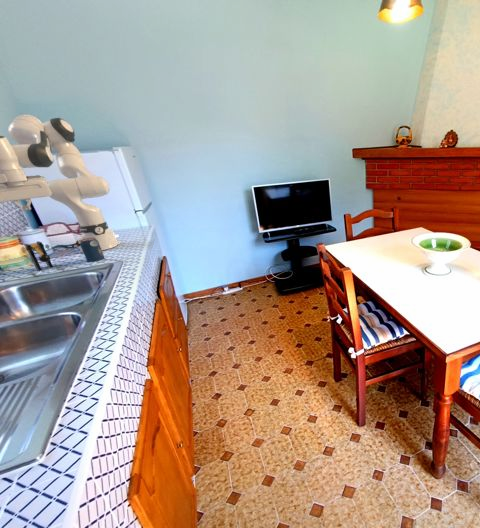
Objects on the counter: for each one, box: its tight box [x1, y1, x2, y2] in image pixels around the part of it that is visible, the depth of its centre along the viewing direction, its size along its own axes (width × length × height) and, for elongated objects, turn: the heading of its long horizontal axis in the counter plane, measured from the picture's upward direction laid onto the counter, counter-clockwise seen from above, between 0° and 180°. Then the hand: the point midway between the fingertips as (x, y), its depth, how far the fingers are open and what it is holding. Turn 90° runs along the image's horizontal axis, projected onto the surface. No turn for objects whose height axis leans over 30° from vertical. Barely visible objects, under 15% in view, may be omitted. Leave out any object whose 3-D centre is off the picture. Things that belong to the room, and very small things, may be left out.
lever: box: [28, 242, 51, 263], centre depth 136 cm, size 13×4×4 cm, turn 57°
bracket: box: [23, 241, 54, 272], centre depth 140 cm, size 12×9×14 cm
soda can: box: [80, 238, 106, 263], centre depth 148 cm, size 7×7×12 cm
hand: (26, 210), depth 130 cm, fingers closed
